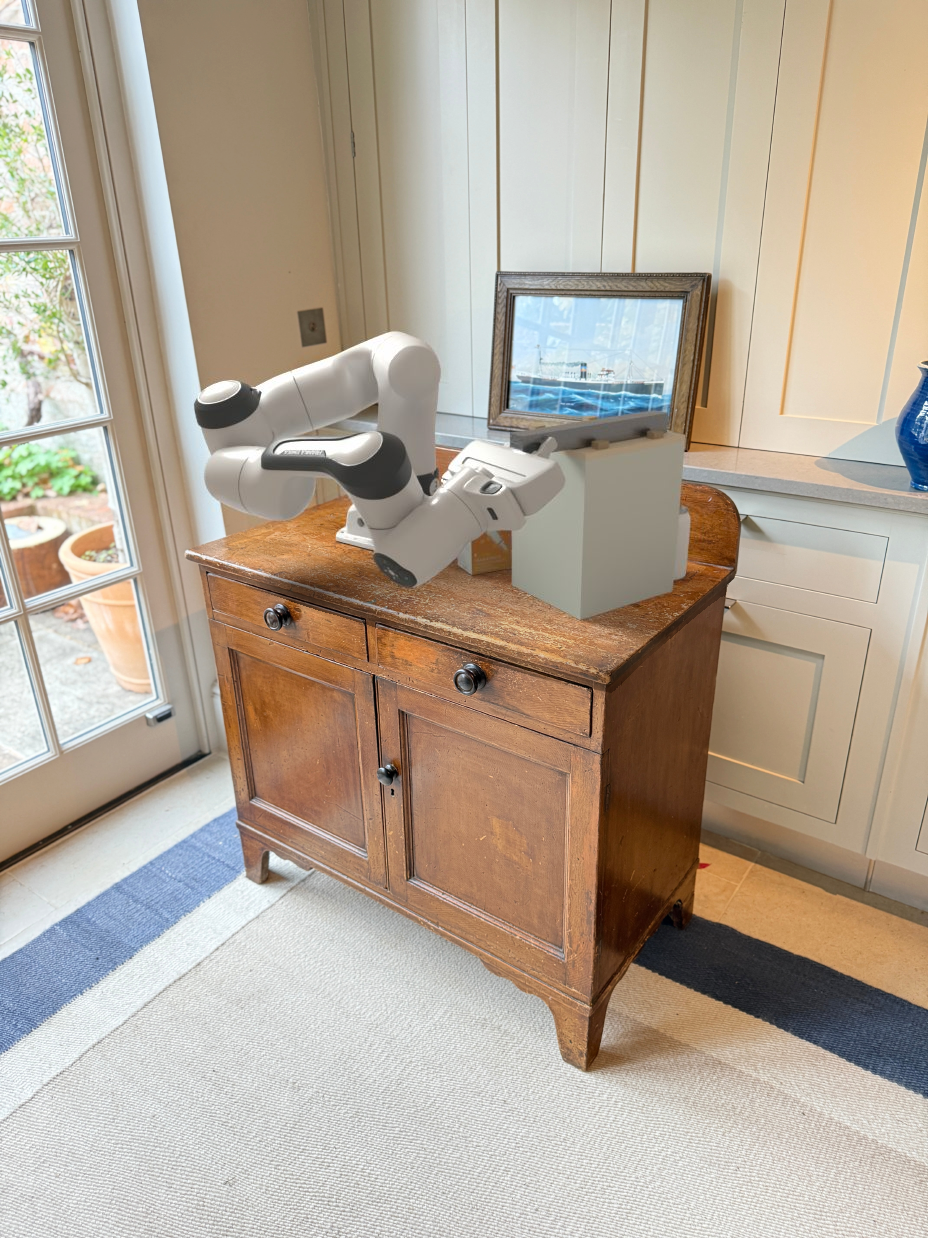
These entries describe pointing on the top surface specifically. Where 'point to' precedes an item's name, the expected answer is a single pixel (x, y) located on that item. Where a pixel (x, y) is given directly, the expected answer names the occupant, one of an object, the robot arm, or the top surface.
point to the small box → (487, 553)
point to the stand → (605, 526)
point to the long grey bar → (591, 431)
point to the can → (682, 543)
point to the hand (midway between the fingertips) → (543, 437)
